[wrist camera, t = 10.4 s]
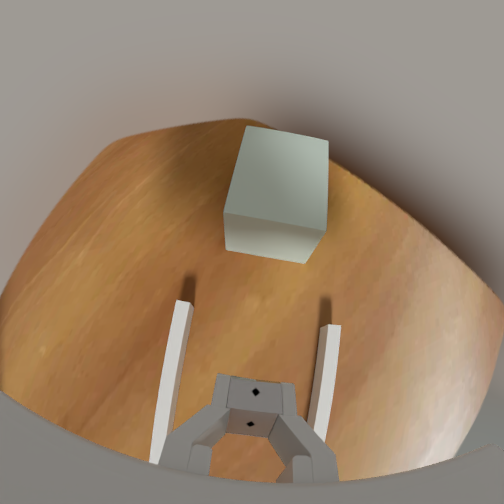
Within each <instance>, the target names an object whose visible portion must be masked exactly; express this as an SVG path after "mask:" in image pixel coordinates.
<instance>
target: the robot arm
mask: <svg viewBox="0 0 504 504" xmlns="http://www.w3.org/2000/svg"><path fill="white" fill-rule="evenodd" d="M225 433H232V434H240V435H249V436H257V437H265V438H268V440H269V441H270V443H271V445H272V446H273V448H274V449H275V451H276V453H277V454H278V456H279V457H280V459H281V460H282V462H283V463H284V465H285V466H286V468H285V469H284V471H283V472H282V473H281V474H280V476H279V477H278V478H277V480H276V483H268V482H253V481H243V480H234V479H226V478H219V477H213V476H209V469H210V462H211V456H212V449H211V448H212V447H213V446H214V445H215V444H216V443H217V442H218V441H219V440H220V439H221V438H222V437H223V436H224V435H225ZM0 504H504V450H503V449H502V448H500V447H499V446H497V445H495V444H488V445H485V446H483V447H481V448H478V449H476V450H473V451H471V452H468V453H465V454H463V455H460V456H458V457H454V458H451V459H448V460H445V461H442V462H439V463H436V464H432V465H429V466H425V467H421V468H417V469H413V470H409V471H405V472H400V473H396V474H390V475H385V476H379V477H373V478H366V479H359V480H350V481H339V477H338V469H337V462H336V455H335V454H334V452H333V451H332V450H331V449H330V448H329V447H328V446H327V445H326V444H325V443H324V442H323V440H322V439H321V438H320V437H319V436H318V435H317V434H316V433H315V432H314V430H313V429H312V428H311V427H310V426H309V425H308V424H307V422H306V421H305V420H304V419H303V418H302V417H301V416H297V407H296V395H295V385H294V384H293V383H283V382H274V381H265V380H254V379H248V378H242V377H237V376H230V375H225V374H220V373H218V374H217V378H216V383H215V388H214V393H213V398H212V403H211V405H206V406H205V407H204V408H202V409H201V410H200V411H199V412H197V413H196V414H195V415H194V416H192V417H191V418H190V419H188V420H187V421H186V422H185V423H183V424H182V425H181V426H179V427H178V428H177V429H175V430H174V431H173V432H171V433H170V434H169V435H167V436H166V439H165V442H164V446H163V449H162V452H161V456H160V459H159V462H158V464H154V463H150V462H147V461H144V460H140V459H137V458H134V457H131V456H128V455H125V454H122V453H120V452H117V451H114V450H112V449H109V448H106V447H104V446H101V445H99V444H96V443H94V442H92V441H89V440H87V439H85V438H83V437H80V436H78V435H76V434H74V433H72V432H70V431H68V430H66V429H64V428H62V427H60V426H58V425H56V424H54V423H52V422H50V421H49V420H47V419H45V418H43V417H42V416H40V415H38V414H36V413H35V412H33V411H31V410H30V409H28V408H26V407H25V406H23V405H22V404H20V403H19V402H17V401H16V400H14V399H13V398H11V397H10V396H8V395H7V394H5V393H4V392H3V391H1V390H0Z"/></svg>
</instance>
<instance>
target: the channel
mask: <svg viewBox="0 0 504 504" xmlns="http://www.w3.org/2000/svg"><path fill="white" fill-rule="evenodd" d="M193 311H194V307H193V306H192V305H191V303H190V302H185V301H180V300H176V305H175V309H174V314H173V319H172V323H171V328H170V333H169V338H168V343H167V348H166V354H165V359H164V364H163V370H162V376H161V381H160V387H159V393H158V400H157V406H156V413H155V420H154V427H153V435H152V443H151V451H150V460H149V462H150V463H154V464H158V462H159V459H160V456H161V452H162V449H163V446H164V442H165V439H166V436H167V435H169V434H170V433H171V432H172V430H173V423H174V417H175V410H176V404H177V398H178V392H179V386H180V380H181V374H182V368H183V363H184V357H185V352H186V347H187V341H188V336H189V331H190V326H191V321H192V316H193ZM340 332H341V326H340V325H331V324H328V325H326V326H323V327H321V328H320V334H319V343H318V352H317V360H316V367H315V375H314V382H313V388H312V395H311V401H310V407H309V413H308V419H307V424H308V425H309V426H310V427H311V428H312V429H313V430H314V432H315V433H316V434H317V435H318V436H319V437H320V438H321V439H322V440H323V442H324V443H325V438H326V433H327V427H328V422H329V416H330V410H331V404H332V398H333V391H334V384H335V377H336V369H337V361H338V352H339V343H340Z"/></svg>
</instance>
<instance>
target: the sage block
mask: <svg viewBox="0 0 504 504" xmlns="http://www.w3.org/2000/svg"><path fill="white" fill-rule="evenodd" d="M327 206H328V141H326V140H321V139H318V138H313V137H309V136H303V135H299V134H294V133H289V132H283V131H278V130H272V129H266V128H260V127H253V126H246V129H245V133H244V136H243V140H242V143H241V147H240V151H239V154H238V158H237V162H236V165H235V169H234V173H233V176H232V180H231V184H230V188H229V192H228V196H227V199H226V203H225V207H224V211H223V216H224V231H225V245H226V250H230V251H235V252H241V253H246V254H252V255H258V256H263V257H269V258H275V259H280V260H286V261H292V262H297V263H303V264H305V263H306V261H307V260H308V258H309V257H310V255H311V254H312V252H313V251H314V249H315V248H316V246H317V245H318V243H319V242H320V240H321V239H322V237H323V236H324V234H325V232H326V229H327Z"/></svg>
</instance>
